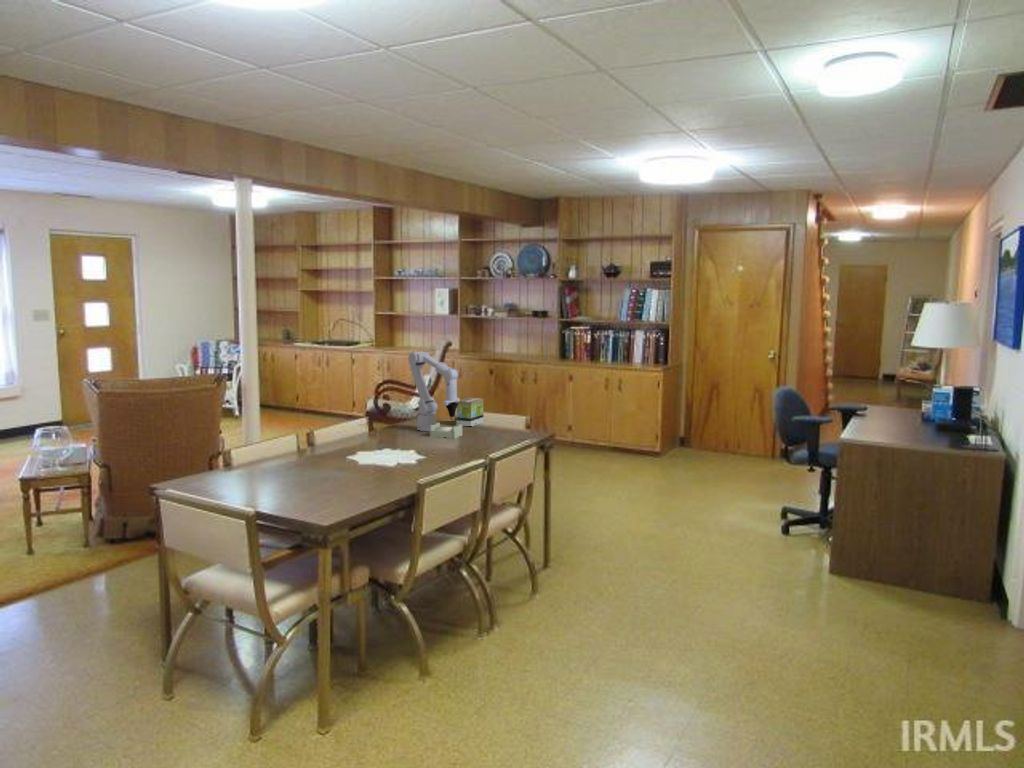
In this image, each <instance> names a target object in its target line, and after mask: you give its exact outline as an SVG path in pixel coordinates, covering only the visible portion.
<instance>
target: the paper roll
mask: <svg viewBox="0 0 1024 768" xmlns="http://www.w3.org/2000/svg"><path fill="white" fill-rule="evenodd" d="M452 427H453V426H452ZM452 427H451V426H440V427H437V428H436V430H439V431H451V432H452Z"/></svg>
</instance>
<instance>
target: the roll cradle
mask: <svg viewBox="0 0 1024 768" xmlns="http://www.w3.org/2000/svg"><path fill="white" fill-rule="evenodd" d="M437 427H441V423H440V422H435V423H432V425H430V426H429V428H430V431H429V437H430V436H435V437H434V438H438V437H446V438H445V439H450V438H455V439H457V437H458V438H460V437H462V436H463V426H462V424H460V425H458V424H457V423H456V424H454V426H452V432H451V431H439V430H436V428H437ZM459 436H460V437H459Z"/></svg>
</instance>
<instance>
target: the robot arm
mask: <svg viewBox="0 0 1024 768" xmlns="http://www.w3.org/2000/svg"><path fill="white" fill-rule="evenodd" d="M407 361H408V363H409V367H410V372H411V375H412V378H413V381H414V384H415V388H416V390H417V393H418V396H419V398H420V399H419V400H418V402H417V404H418V412H419V414H418V415H417V420H416V421H417V429H416V431H417V430H420V431H419V432H430V428H429V426H430V425H432V423H436V414H437V411H438V410H439V409H438V408H439V406H438V403H437V402H436V401H435V398H434V397H432V396H431V395H430V391H429V389H428V385H427V383H426V381H425V377H424V375H423V371H422V368H423V367H424V365H425V364H428V365H430V366H431V367H433V368H435V372H437V373H438V374H440V375H441V376H443V379H444V383H445V394H446V395H445V396H446V397H445V400H444V401H443V403H442V404H443V406H445V407H446V409H447V412H448V416H449V417H451V418H454V417H455V416H456V412H457V406H458V403H457V402H459V401H460V400H461V399H460V397H458V396H457V395H458V393H457V392H458V389H457V387H458V384H457V382H458V381H457V380H458V378H459V377H460V376H459V375H460V374H459V371H458V370H457V368H451V366H448V365H447V364H445V362H444V361H443V362H442V361H440V362H439V361H437V360H436V359H435V358H434V357H432V356H431V355H430V353H429V352H427V351H425V350H422V351H412V352H410V353H409V356H408V358H407Z"/></svg>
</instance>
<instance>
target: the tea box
mask: <svg viewBox="0 0 1024 768" xmlns="http://www.w3.org/2000/svg"><path fill="white" fill-rule="evenodd" d="M484 401H485V400H484V398H482V397H481V398H479V397H478V398H477V397H467V398H466V397H465V398H462V399H460V401H459V402H456V403H458V406H457V408H456V424H458V425H460V424H462V427H463V426H472V427H474V426H477V425H482V424H484Z"/></svg>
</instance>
